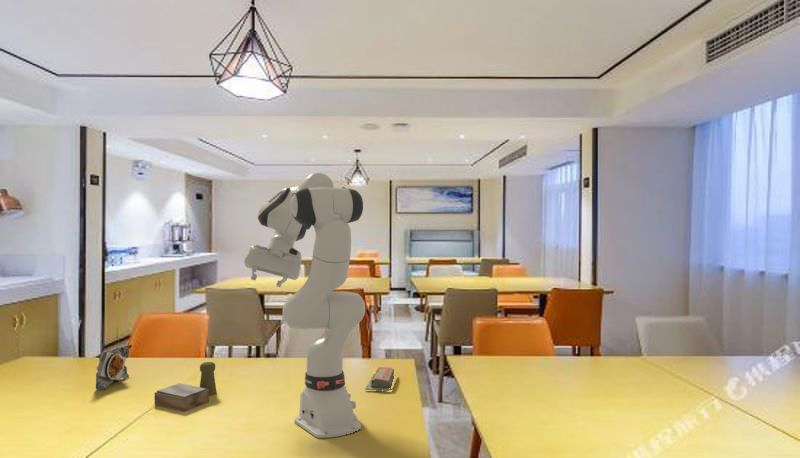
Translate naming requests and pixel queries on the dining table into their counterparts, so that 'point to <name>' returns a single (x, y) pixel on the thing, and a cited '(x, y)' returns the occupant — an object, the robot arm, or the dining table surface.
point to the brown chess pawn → (208, 377)
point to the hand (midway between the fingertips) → (265, 282)
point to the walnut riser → (181, 397)
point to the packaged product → (381, 379)
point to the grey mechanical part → (112, 366)
